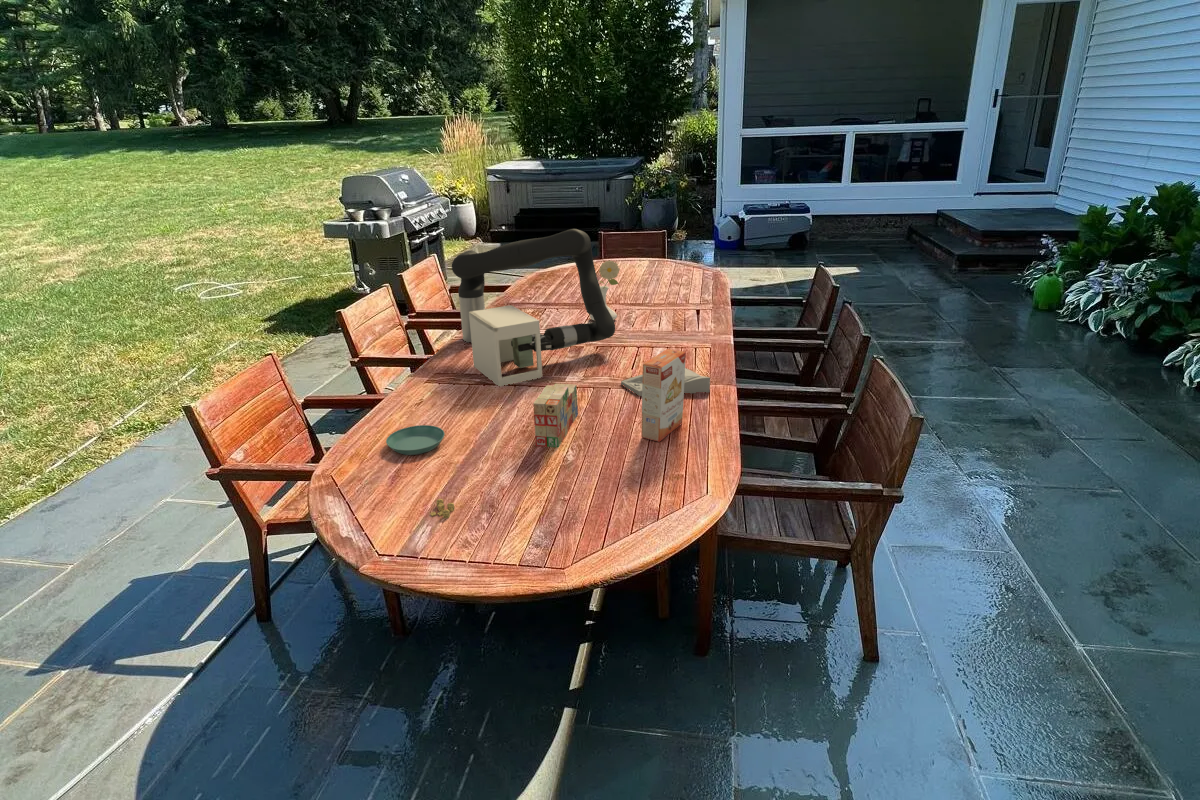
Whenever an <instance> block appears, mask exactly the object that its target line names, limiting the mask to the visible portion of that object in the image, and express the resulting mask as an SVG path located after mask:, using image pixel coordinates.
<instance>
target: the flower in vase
mask: <svg viewBox="0 0 1200 800" xmlns="http://www.w3.org/2000/svg"><path fill="white" fill-rule="evenodd" d="M598 270H599V271H598V272H599V274H600V276H601V278H603V279H605V280H607V282H606V283H604V282H603V281H601V280H598V282H599V283H600V284H601V283H602V284H604V285H599V286H600V289H601V292H602V296H603V299H604V302H605V306H606V307H607V309H608V311H609V312H610V314H611V316H612V318H613V320H615V319H617V318H618V314H617V313H616V312H615V311H614V310H613V309H612V308H610V307H609V306H608V305H607V292H608V290H609V289H610V286H607V285H608V283H609V284H610V285H611V286H615V285H619V284H620V283H619V282H618V281H617V279H615V278H617V277H618V274H620V270H621V269H620V267H619V265H618V263H617V262H614V261H612V260H605V261H604V262H602V263H601V265H600V267H599V269H598ZM589 318H590V320H592V321H593V322H595V320H594V318H593V316H592V315H590V314H589Z"/></svg>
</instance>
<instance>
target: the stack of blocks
mask: <svg viewBox="0 0 1200 800" xmlns="http://www.w3.org/2000/svg"><path fill="white" fill-rule="evenodd" d="M577 391H578V389H577V384H573V383H554V384H553V385H548V384H547V385H545V387H544V388H543V390H542V391H541V393H540V394H539V395H538V396H537V398H536V399H535V400H534V402H533V403H532V405H533V407H532V408H533V421H534V423H533V424H534V432H535V435H534V437H535V439H534V440H535V446H536V447H547V448H560V446H561V444H562V442H563V441H564V440H565V438H566V436H567V434H568V432H569V431H570V429H571V426H572V425H573V423H574V422H575V420H576V418H577V417H578V415H579V408H578V407H579V405H578V392H577Z"/></svg>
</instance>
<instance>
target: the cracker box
mask: <svg viewBox="0 0 1200 800" xmlns="http://www.w3.org/2000/svg"><path fill="white" fill-rule="evenodd" d="M686 354H687V353H686V352H685V351H682V350H675V349H670V348H667V349H665V350H663V351H662V352H660V353H658V354H657V355H655V356H653V357H651V358H650V359H648V360H647V361H645V362H643V363H642V375H643V382H642V396H641V432H640V433H641V434H640V435H641V438H642V439H646V440H650V441H653V442H654V441H655V442H658V443H660V442H661V441H663V440H664V439H665V438H666V437H667V436H669V435H670V434H671V433H672V432H673V431H674V430H676V429H677V428H678V427H680V426H681V425H682V424H683V419H684V417H683V415H684V413H683V412H684V401H685V400H684V399H685V397H684V396H685V394H684V379H685V368H686V359H687V358H686V356H687V355H686ZM680 424H681V425H680Z"/></svg>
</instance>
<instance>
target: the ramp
mask: <svg viewBox="0 0 1200 800" xmlns="http://www.w3.org/2000/svg"><path fill="white" fill-rule="evenodd" d="M642 382H643V374H638V375H635V376H632V377H630V378H627V379H624V380H621V382H620V385H621V384H622V385H624V386H625V387H627V388H628V389H630V390H631V391H633V392H634V393H636V394H637V395H639V396H641V397H642ZM622 385H621V386H622ZM625 387H624V388H625ZM627 388H626V389H627ZM628 389H627V390H628ZM710 389H711V377H708V376H705V375H704V376H702V375H700V374H699V373H697V372H695V371H693V370H691V369H689V368H686V367H685V379H684V393H690V394H697V393H696V392H706V393H711V390H710ZM630 390H629V391H630ZM631 391H630V392H631ZM633 392H632V393H633ZM634 393H633V394H634ZM636 394H635V395H636ZM637 395H636V396H637ZM639 396H638V397H639Z"/></svg>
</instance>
